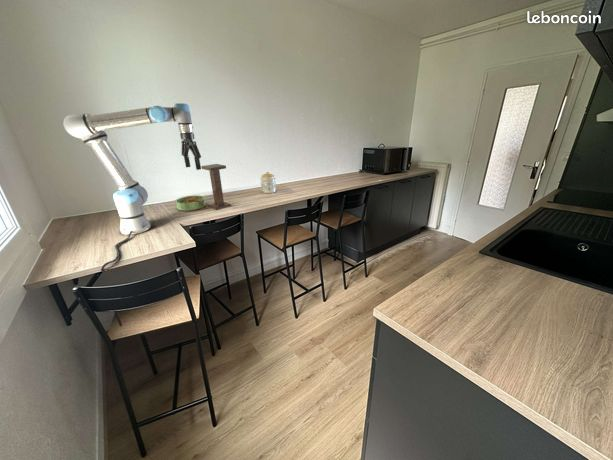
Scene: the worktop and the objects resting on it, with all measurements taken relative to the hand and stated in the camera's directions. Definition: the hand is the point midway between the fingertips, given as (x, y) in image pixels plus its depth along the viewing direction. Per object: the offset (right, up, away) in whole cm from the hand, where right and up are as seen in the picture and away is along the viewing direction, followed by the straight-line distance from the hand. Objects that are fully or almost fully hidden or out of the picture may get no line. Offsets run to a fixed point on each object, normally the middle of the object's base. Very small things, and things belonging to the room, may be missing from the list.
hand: (193, 168), depth 158 cm
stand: (+6, -21, +31) cm, 38 cm away
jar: (+38, -5, +68) cm, 78 cm away
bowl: (-15, -22, +29) cm, 39 cm away
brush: (-11, -19, +25) cm, 33 cm away
